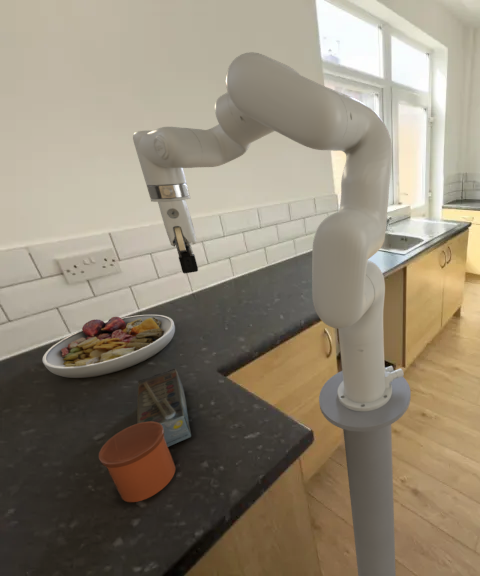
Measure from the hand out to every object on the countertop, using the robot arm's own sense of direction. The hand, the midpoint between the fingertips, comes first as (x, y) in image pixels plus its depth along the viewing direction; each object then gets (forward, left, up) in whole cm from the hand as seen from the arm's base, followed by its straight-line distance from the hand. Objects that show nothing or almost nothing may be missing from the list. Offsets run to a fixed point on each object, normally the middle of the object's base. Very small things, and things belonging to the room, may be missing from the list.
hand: (190, 271), depth 77 cm
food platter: (+25, -23, -27) cm, 44 cm away
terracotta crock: (+12, +32, -27) cm, 44 cm away
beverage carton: (+10, +16, -27) cm, 34 cm away
